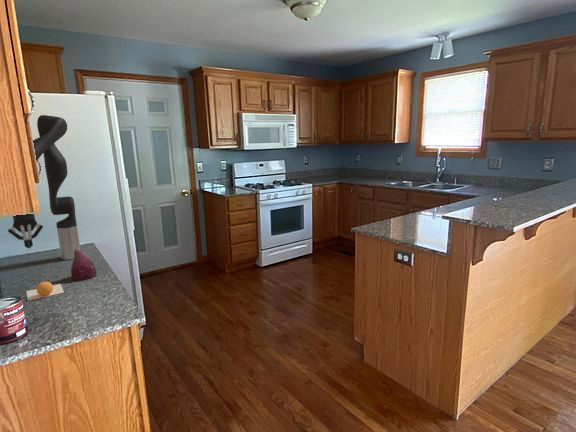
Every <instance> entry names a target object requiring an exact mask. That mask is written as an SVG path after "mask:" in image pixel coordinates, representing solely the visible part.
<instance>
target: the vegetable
mask: <svg viewBox="0 0 576 432" xmlns="http://www.w3.org/2000/svg"><path fill="white" fill-rule="evenodd" d="M70 274H71V280H73V281H80V282H81V281H87V280H91V279H93V278H95V277H97V270H96V267H95V264H94V262H93V260H92V258H91V257H90V256H89V255H88V254H86V253H84V252H83V251H82V250H81V249H80V250H79V249H77V248H76V250H75V252H74V259H73V262H72V264H71V268H70Z"/></svg>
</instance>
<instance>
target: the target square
mask: <svg viewBox="0 0 576 432" xmlns="http://www.w3.org/2000/svg"><path fill="white" fill-rule="evenodd" d="M52 285H53V284H52ZM36 289H37V288H36ZM36 289H31V290H30V289H29V290H26V298H27V302H29V301H34V300H38V299H42V298H46V297H51V296H56V295H60V294H63V293H65V291H64V289H63V286H62V284H61V283H58V284H54V285H53V291H52V292H51V293H50V294H49V295H46V296H42V295H39V294H38V293H37V290H36Z"/></svg>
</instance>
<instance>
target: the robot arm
mask: <svg viewBox="0 0 576 432" xmlns="http://www.w3.org/2000/svg"><path fill="white" fill-rule="evenodd" d="M36 122H37V123H36V124H37V125H36V126H37V131H38V137H37V138H35V139H33V140H32V141H33V143H34V149H35V155H36V160H37V161H39V159H40V157H41V156H42V155H43V159H44V160H43V161H44V167H45V169H44V170H45V174H46V175H45V176H46V180H47V185H48V197H49V208H50V212H51V214H52V215H54V216H59V215H61V216H62V215H67V216H66V217H65V218H63V219H61V220H58V221H57V222H56V225H55V226H56V231H57V237H58V244H59V251H60V252H59V253H60V258H61V260H65V261H67V260H74V252H75V250H76V248H77V249H79V250H80V251H81V245H80V237H79V232H78V225H77V218H76V217H77V216H76V206H75V205H76V204H75V201H74V198H73V197H72V196H60V197H59V196H58V192H59V190H60V187H61V186H62V184H63V183H64V181H65V179H66V178H67V176H68V164H67V160H66V158H65V157H64V155H63V154H62V153H61V151H60V150H59V148H58V146H56V142H58V141H59V140H60V139H61V138H63V137H64V135H66V133H67V131H68V123H67V121H66V119H64V118H63V117H59V116H54V115H47V114H46V115H45V114H40V115H39V116H38V118H37V120H36ZM35 217H36V216H35V213H34V214H26V215H16V216H13V215H12V220H13V224H12V226H11V227H10V228H8V229H7V232H8V233H9V234H11V235H12V236H13V237H14V238H16V239H18V240H20V241H23V244H24V247H25V248H27V249H31V248H32V247H33V239H35V238H36V237H38V234H40V232H41V231H42V229H43V228H44V225H43V224H40V223H38V222H37V220H36V218H35ZM35 228H36V230H35ZM16 230H17V232H19V233H21V235H19V233H17V232H16ZM34 230H35V231H34ZM33 231H34V233H33V234H32V232H33ZM26 233H27V234H26Z"/></svg>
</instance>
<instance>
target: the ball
mask: <svg viewBox="0 0 576 432" xmlns="http://www.w3.org/2000/svg"><path fill="white" fill-rule="evenodd" d="M36 290H37V293H38V294H39V295H42V296H46V295H49V294H50V293H51V292H52V291H53V284H52V283H51V282H50V281H41V283H39V284H38V285H37V286H36Z"/></svg>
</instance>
